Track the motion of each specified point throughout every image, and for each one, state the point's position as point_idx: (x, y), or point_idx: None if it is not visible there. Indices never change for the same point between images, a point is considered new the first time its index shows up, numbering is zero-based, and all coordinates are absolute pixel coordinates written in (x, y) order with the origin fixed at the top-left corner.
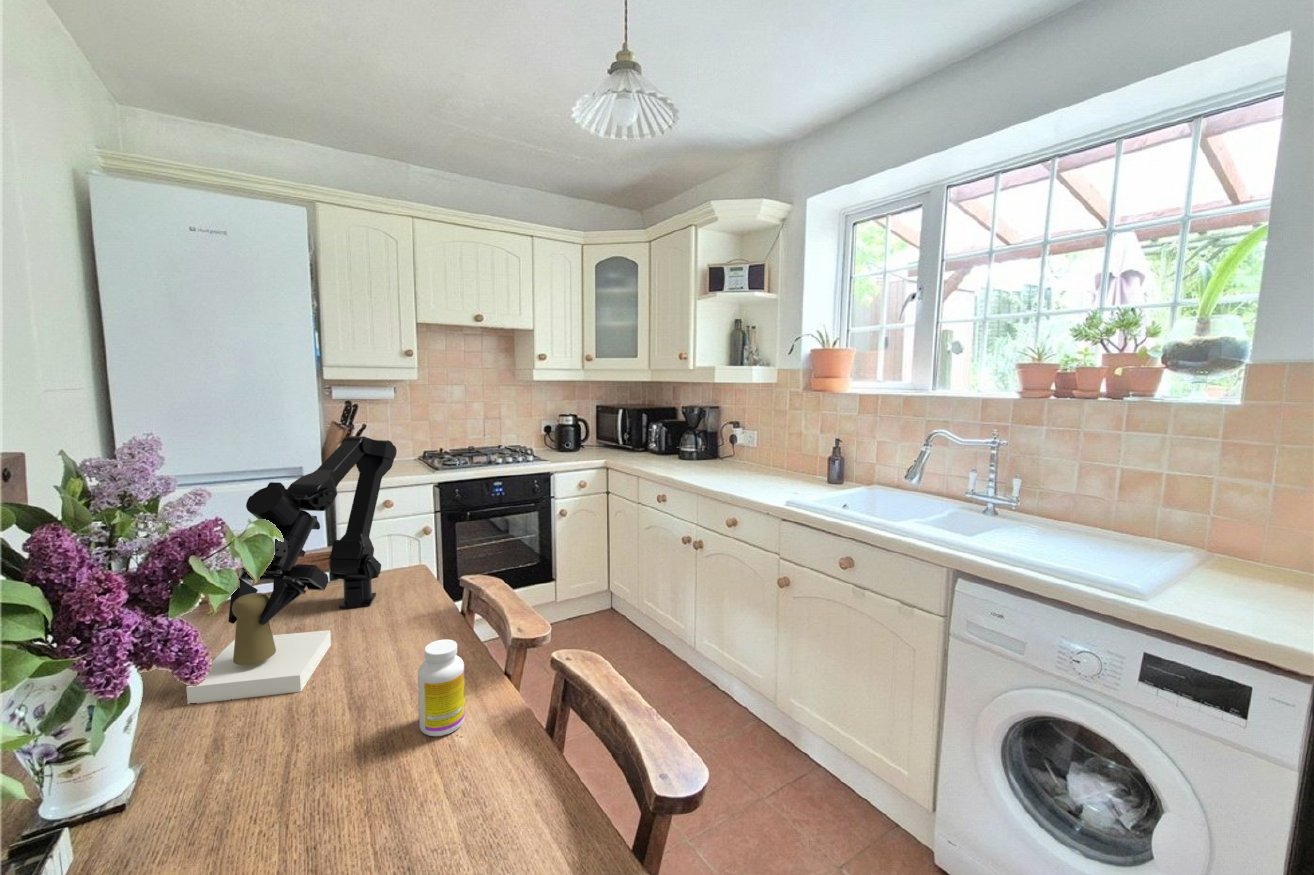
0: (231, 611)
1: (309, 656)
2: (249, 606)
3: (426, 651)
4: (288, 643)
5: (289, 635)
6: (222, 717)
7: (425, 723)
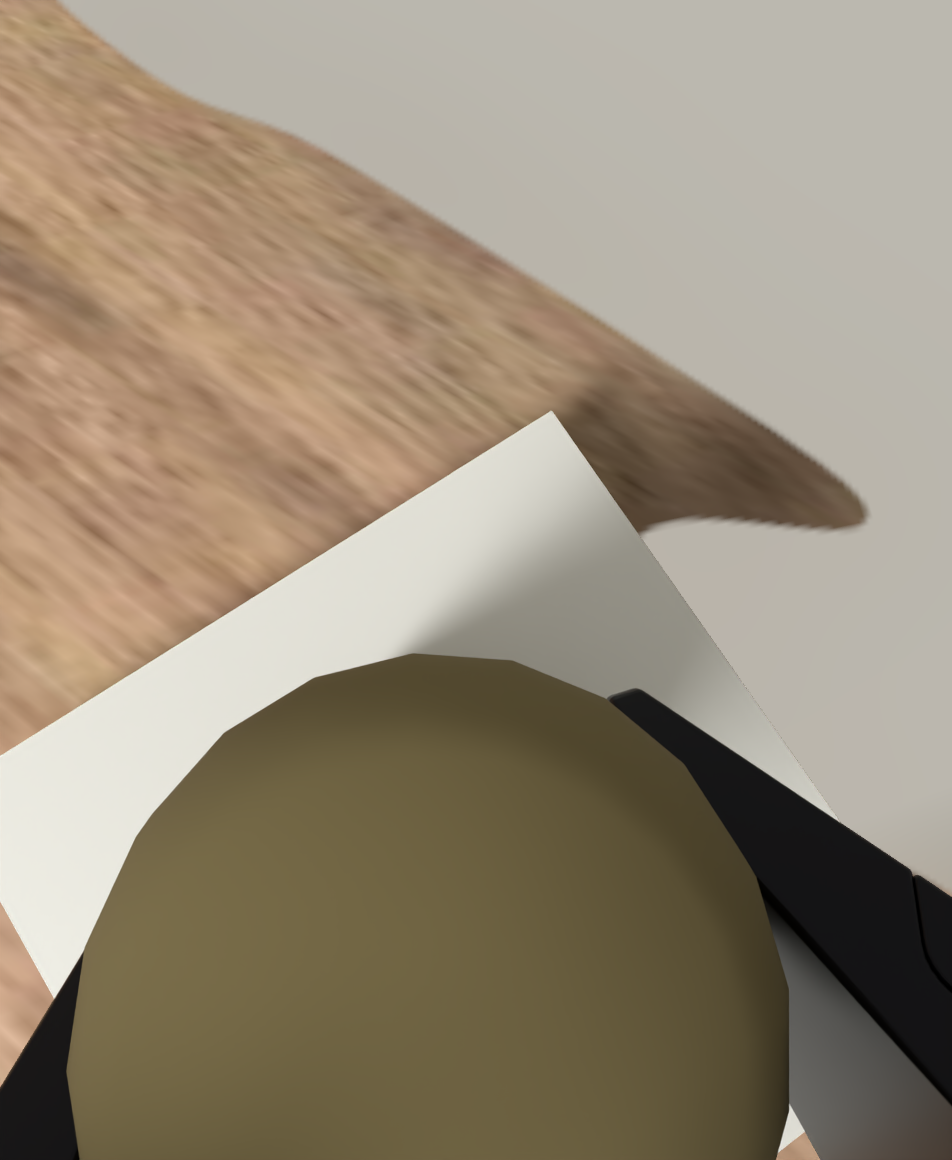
0: (707, 768)
1: None
2: (174, 801)
3: None
4: None
5: None
6: (237, 440)
7: None
